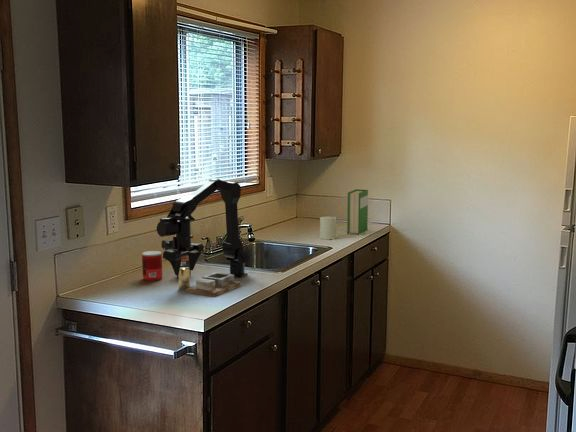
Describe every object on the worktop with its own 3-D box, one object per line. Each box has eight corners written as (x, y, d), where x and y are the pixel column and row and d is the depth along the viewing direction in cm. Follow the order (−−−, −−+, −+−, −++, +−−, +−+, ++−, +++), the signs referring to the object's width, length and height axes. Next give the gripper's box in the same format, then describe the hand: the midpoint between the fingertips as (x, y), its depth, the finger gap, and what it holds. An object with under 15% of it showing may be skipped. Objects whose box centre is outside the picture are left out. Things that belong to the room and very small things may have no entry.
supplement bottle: (184, 274, 269) (183, 248, 268) (193, 276, 266) (193, 249, 264) (173, 276, 265) (172, 250, 263) (183, 279, 261) (182, 252, 259)
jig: (213, 281, 257) (213, 270, 256) (240, 285, 251) (240, 274, 250) (186, 292, 241) (186, 280, 240) (214, 296, 235) (214, 284, 234)
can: (331, 240, 344) (331, 218, 342) (316, 238, 349) (316, 217, 347) (339, 237, 352) (339, 216, 350) (324, 236, 356) (324, 215, 355)
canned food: (166, 278, 263) (165, 252, 261) (152, 282, 256) (151, 255, 254) (153, 275, 267) (152, 250, 265) (138, 279, 260) (137, 253, 259)
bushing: (183, 286, 249) (182, 266, 248) (192, 287, 247) (192, 267, 246) (176, 289, 246) (175, 268, 244) (185, 290, 243) (185, 270, 242)
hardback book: (359, 235, 359) (360, 193, 356) (347, 234, 362) (347, 192, 358) (367, 230, 376) (368, 189, 372) (355, 229, 378) (355, 189, 375)
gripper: (181, 227, 255) (182, 265, 257) (150, 235, 239) (152, 275, 241) (204, 230, 250) (205, 268, 252) (174, 237, 234) (175, 279, 236)
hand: (184, 272), depth 246 cm, fingers open, 9 cm apart
